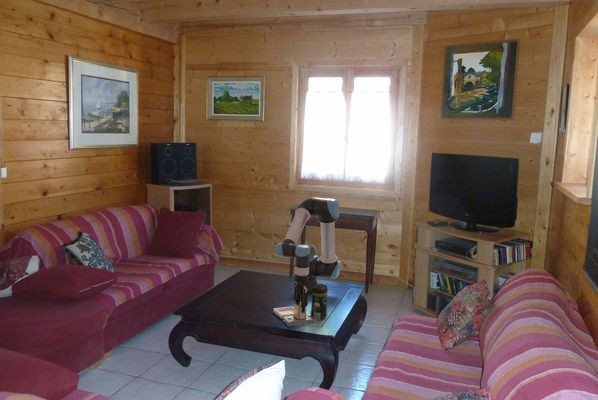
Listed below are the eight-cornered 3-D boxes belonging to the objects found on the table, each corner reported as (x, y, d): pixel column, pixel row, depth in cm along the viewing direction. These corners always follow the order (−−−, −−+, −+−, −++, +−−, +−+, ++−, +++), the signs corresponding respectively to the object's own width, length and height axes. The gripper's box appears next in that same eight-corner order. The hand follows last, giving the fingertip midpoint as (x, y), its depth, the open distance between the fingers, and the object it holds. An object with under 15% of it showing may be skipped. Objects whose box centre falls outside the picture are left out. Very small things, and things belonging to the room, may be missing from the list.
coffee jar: (315, 313, 293) (316, 281, 291) (328, 316, 290) (329, 284, 288) (308, 318, 285) (309, 286, 282) (321, 321, 281) (323, 288, 279)
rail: (309, 317, 286) (310, 313, 286) (316, 322, 279) (316, 318, 279) (283, 321, 280) (283, 316, 279) (288, 326, 272) (289, 321, 272)
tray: (292, 310, 298) (292, 306, 298) (300, 316, 287) (300, 312, 287) (273, 312, 293) (273, 308, 293) (281, 319, 283) (281, 315, 282)
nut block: (302, 319, 283) (302, 301, 281) (305, 323, 278) (306, 304, 277) (293, 321, 281) (294, 302, 279) (297, 324, 276) (298, 305, 275)
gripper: (288, 270, 283) (287, 311, 286) (302, 279, 266) (300, 322, 269) (301, 269, 286) (299, 310, 289) (315, 278, 269) (313, 321, 272)
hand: (299, 316), depth 279 cm, fingers closed on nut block, 5 cm apart
